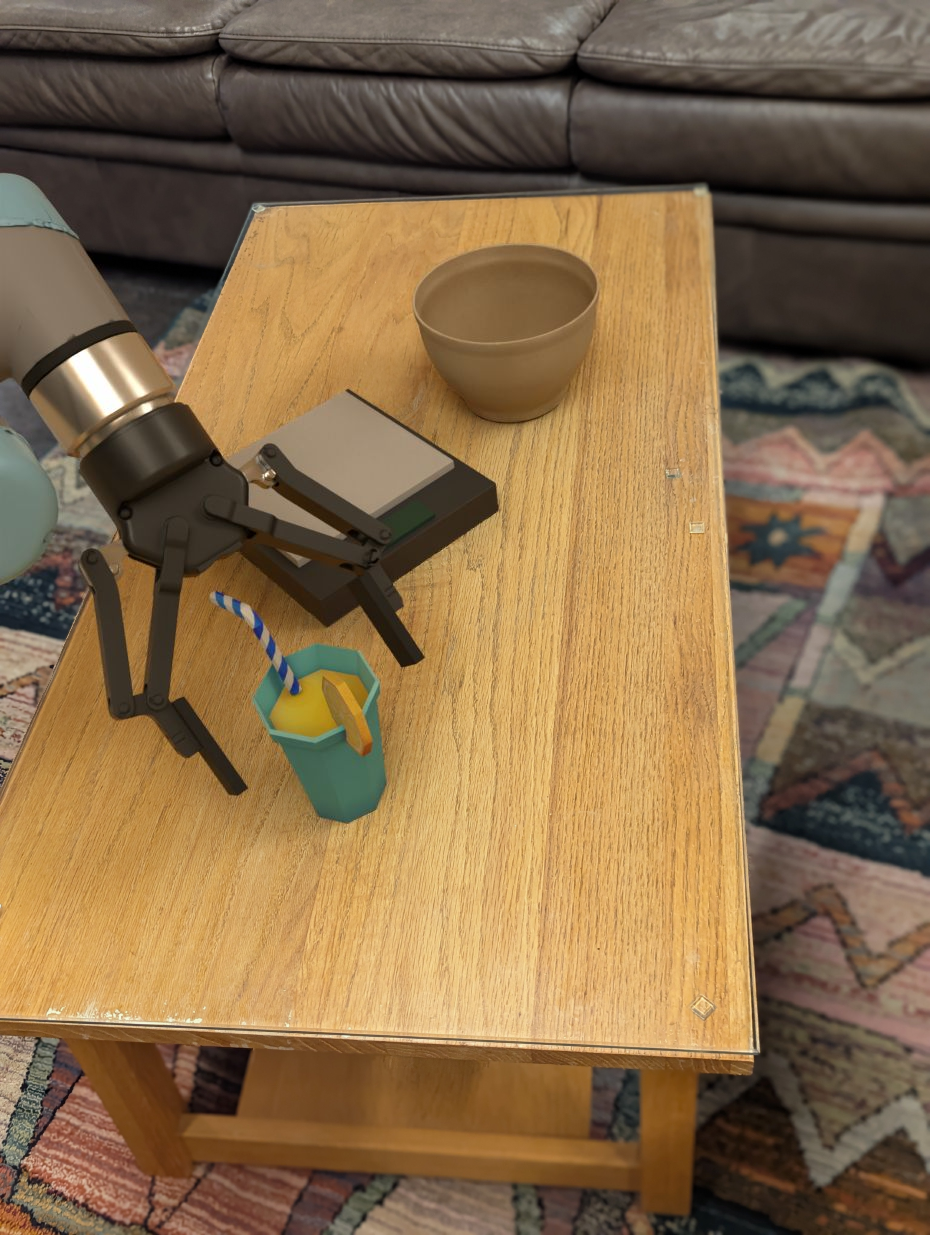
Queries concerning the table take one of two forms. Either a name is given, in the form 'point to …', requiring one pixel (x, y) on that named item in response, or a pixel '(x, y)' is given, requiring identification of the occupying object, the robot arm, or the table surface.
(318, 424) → the scale
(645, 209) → the table surface
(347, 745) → the cup
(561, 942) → the table surface
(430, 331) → the planter bowl
